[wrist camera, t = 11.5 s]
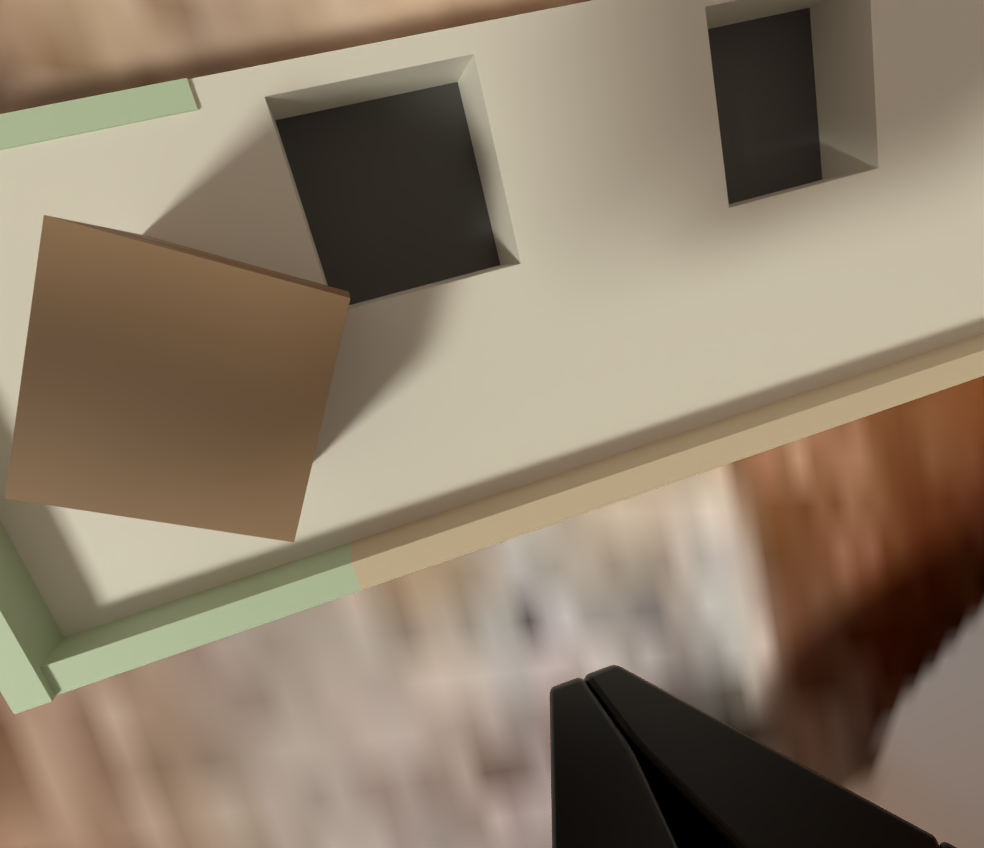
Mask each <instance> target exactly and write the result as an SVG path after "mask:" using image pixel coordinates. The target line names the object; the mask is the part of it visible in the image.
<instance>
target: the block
mask: <svg viewBox="0 0 984 848" xmlns="http://www.w3.org/2000/svg"><path fill="white" fill-rule="evenodd" d="M349 302H350V294H349V291H345V290H342V289H338V288H334V287H331V286H327V285H324V284H320V283H316V282H313V281H309V280H305V279H302V278H298V277H294V276H291V275H287V274H283V273H280V272H276V271H273V270H269V269H265V268H262V267H258V266H254V265H251V264H247V263H243V262H240V261H236V260H232V259H229V258H225V257H222V256H218V255H214V254H211V253H207V252H203V251H200V250H196V249H192V248H189V247H185V246H181V245H178V244H174V243H171V242H167V241H163V240H160V239H156V238H152V237H149V236H145V235H141V234H136V233H131V232H126V231H121V230H116V229H111V228H106V227H101V226H96V225H91V224H87V223H82V222H77V221H72V220H67V219H62V218H57V217H52V216H47V215H44V217H43V224H42V232H41V239H40V246H39V253H38V261H37V268H36V275H35V282H34V290H33V297H32V304H31V311H30V319H29V326H28V333H27V340H26V348H25V355H24V362H23V369H22V377H21V384H20V391H19V398H18V406H17V413H16V420H15V427H14V435H13V442H12V449H11V456H10V464H9V471H8V478H7V485H6V493H5V499H11V500H18V501H24V502H31V503H37V504H44V505H51V506H57V507H64V508H70V509H77V510H84V511H90V512H97V513H103V514H110V515H117V516H123V517H130V518H136V519H143V520H150V521H156V522H163V523H169V524H176V525H183V526H189V527H196V528H202V529H209V530H216V531H222V532H229V533H235V534H242V535H249V536H255V537H262V538H268V539H275V540H282V541H288V542H294V541H295V537H296V532H297V528H298V524H299V519H300V515H301V511H302V506H303V502H304V498H305V493H306V489H307V485H308V480H309V476H310V472H311V467H312V463H313V459H314V454H315V450H316V446H317V441H318V437H319V433H320V428H321V424H322V419H323V415H324V411H325V406H326V402H327V398H328V393H329V389H330V385H331V380H332V376H333V372H334V367H335V363H336V359H337V354H338V350H339V346H340V341H341V337H342V333H343V328H344V324H345V320H346V315H347V311H348V307H349Z"/></svg>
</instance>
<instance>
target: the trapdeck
mask: <svg viewBox="0 0 984 848" xmlns="http://www.w3.org/2000/svg"><path fill="white" fill-rule="evenodd" d="M44 215H47V216H52V217H57V218H62V219H67V220H72V221H77V222H82V223H87V224H91V225H96V226H101V227H106V228H111V229H116V230H121V231H126V232H131V233H136V234H141V235H145V236H149V237H152V238H156V239H160V240H163V241H167V242H171V243H174V244H178V245H181V246H185V247H189V248H192V249H196V250H200V251H203V252H207V253H211V254H214V255H218V256H222V257H225V258H229V259H232V260H236V261H240V262H243V263H247V264H251V265H254V266H258V267H262V268H265V269H269V270H273V271H276V272H280V273H283V274H287V275H291V276H294V277H298V278H302V279H305V280H309V281H313V282H316V283H320V284H324V285H327V286H331V287H334V288H338V289H342V290H345V291H349V294H350V302H349V307H348V311H347V315H346V320H345V324H344V328H343V333H342V337H341V341H340V346H339V350H338V354H337V359H336V363H335V367H334V372H333V376H332V380H331V385H330V389H329V393H328V398H327V402H326V406H325V411H324V415H323V419H322V424H321V428H320V433H319V437H318V441H317V446H316V450H315V454H314V459H313V463H312V467H311V472H310V476H309V480H308V485H307V489H306V493H305V498H304V502H303V506H302V511H301V515H300V519H299V524H298V528H297V532H296V537H295V541H294V542H288V541H282V540H275V539H268V538H262V537H255V536H249V535H242V534H235V533H229V532H222V531H216V530H209V529H202V528H196V527H189V526H183V525H176V524H169V523H163V522H156V521H150V520H143V519H136V518H130V517H123V516H117V515H110V514H103V513H97V512H90V511H84V510H77V509H70V508H64V507H57V506H51V505H44V504H37V503H31V502H24V501H18V500H11V499H5V493H6V485H7V478H8V471H9V464H10V456H11V449H12V442H13V435H14V427H15V420H16V413H17V406H18V398H19V391H20V384H21V377H22V369H23V362H24V355H25V348H26V340H27V333H28V326H29V319H30V311H31V304H32V297H33V290H34V282H35V275H36V268H37V261H38V253H39V246H40V239H41V232H42V224H43V217H44ZM981 376H984V0H591V1H586V2H581V3H576V4H571V5H566V6H560V7H555V8H550V9H545V10H540V11H535V12H530V13H525V14H519V15H514V16H509V17H504V18H499V19H494V20H489V21H484V22H478V23H473V24H468V25H463V26H458V27H453V28H448V29H443V30H437V31H432V32H427V33H422V34H417V35H412V36H407V37H402V38H397V39H391V40H386V41H381V42H376V43H371V44H366V45H361V46H356V47H350V48H345V49H340V50H335V51H330V52H325V53H320V54H315V55H309V56H304V57H299V58H294V59H289V60H284V61H279V62H274V63H268V64H263V65H258V66H253V67H248V68H243V69H238V70H233V71H228V72H222V73H217V74H212V75H207V76H202V77H197V78H192V79H187V78H183V79H178V80H173V81H167V82H162V83H157V84H152V85H147V86H142V87H137V88H132V89H126V90H121V91H116V92H111V93H106V94H101V95H96V96H90V97H85V98H80V99H75V100H70V101H65V102H60V103H55V104H49V105H44V106H39V107H34V108H29V109H24V110H19V111H13V112H8V113H3V114H0V691H1V693H2V695H3V696H4V698H5V700H6V702H7V703H8V705H9V707H10V708H11V710H12V712H13V713H14V714H17V713H20V712H23V711H25V710H28V709H31V708H34V707H37V706H40V705H43V704H46V703H49V702H51V701H52V700H53V699H54V698H55V696H56V695H59V694H62V693H65V692H68V691H70V690H73V689H76V688H79V687H82V686H85V685H88V684H91V683H94V682H97V681H99V680H102V679H105V678H108V677H111V676H114V675H117V674H120V673H123V672H126V671H128V670H131V669H134V668H137V667H140V666H143V665H146V664H149V663H152V662H155V661H157V660H160V659H163V658H166V657H169V656H172V655H175V654H178V653H181V652H184V651H186V650H189V649H192V648H195V647H198V646H201V645H204V644H207V643H210V642H213V641H215V640H218V639H221V638H224V637H227V636H230V635H233V634H236V633H239V632H242V631H244V630H247V629H250V628H253V627H256V626H259V625H262V624H265V623H268V622H271V621H273V620H276V619H279V618H282V617H285V616H288V615H291V614H294V613H297V612H300V611H302V610H305V609H308V608H311V607H314V606H317V605H320V604H323V603H326V602H329V601H331V600H334V599H337V598H340V597H343V596H346V595H349V594H352V593H355V592H358V591H360V590H363V589H366V588H369V587H372V586H375V585H378V584H381V583H384V582H387V581H389V580H392V579H395V578H398V577H401V576H404V575H407V574H410V573H413V572H416V571H418V570H421V569H424V568H427V567H430V566H433V565H436V564H439V563H442V562H445V561H447V560H450V559H453V558H456V557H459V556H462V555H465V554H468V553H471V552H474V551H476V550H479V549H482V548H485V547H488V546H491V545H494V544H497V543H500V542H503V541H505V540H508V539H511V538H514V537H517V536H520V535H523V534H526V533H529V532H532V531H534V530H537V529H540V528H543V527H546V526H549V525H552V524H555V523H558V522H561V521H563V520H566V519H569V518H572V517H575V516H578V515H581V514H584V513H587V512H590V511H592V510H595V509H598V508H601V507H604V506H607V505H610V504H613V503H616V502H619V501H621V500H624V499H627V498H630V497H633V496H636V495H639V494H642V493H645V492H648V491H651V490H653V489H656V488H659V487H662V486H665V485H668V484H671V483H674V482H677V481H680V480H682V479H685V478H688V477H691V476H694V475H697V474H700V473H703V472H706V471H709V470H711V469H714V468H717V467H720V466H723V465H726V464H729V463H732V462H735V461H738V460H740V459H743V458H746V457H749V456H752V455H755V454H758V453H761V452H764V451H767V450H769V449H772V448H775V447H778V446H781V445H784V444H787V443H790V442H793V441H796V440H798V439H801V438H804V437H807V436H810V435H813V434H816V433H819V432H822V431H825V430H827V429H830V428H833V427H836V426H839V425H842V424H845V423H848V422H851V421H854V420H856V419H859V418H862V417H865V416H868V415H871V414H874V413H877V412H880V411H883V410H885V409H888V408H891V407H894V406H897V405H900V404H903V403H906V402H909V401H912V400H914V399H917V398H920V397H923V396H926V395H929V394H932V393H935V392H938V391H941V390H943V389H946V388H949V387H952V386H955V385H958V384H961V383H964V382H967V381H970V380H972V379H975V378H978V377H981Z"/></svg>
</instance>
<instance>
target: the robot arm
mask: <svg viewBox="0 0 984 848" xmlns="http://www.w3.org/2000/svg"><path fill="white" fill-rule="evenodd" d="M550 736H551V797H552V848H956V847H954V846H952V845H950V844H949V843H946V842H943V843H941V844H940V845H939V844H938V842H937V840H936V838H935V837H934V836H933V835H931V834H929V833H927V832H926V831H924V830H922V829H920V828H918V827H916V826H914V825H913V824H911V823H909V822H907V821H905V820H903V819H901V818H900V817H898V816H896V815H894V814H892V813H890V812H888V811H887V810H884V809H883V808H881V807H879V806H877V805H876V804H874V803H872V802H870V801H868V800H866V799H865V798H863V797H861V796H859V795H857V794H855V793H853V792H852V791H850V790H848V789H846V788H844V787H842V786H840V785H839V784H837V783H835V782H833V781H831V780H829V779H827V778H826V777H824V776H822V775H820V774H818V773H816V772H814V771H813V770H811V769H809V768H807V767H805V766H803V765H802V764H800V763H798V762H796V761H794V760H792V759H790V758H789V757H787V756H785V755H783V754H781V753H779V752H777V751H776V750H774V749H772V748H770V747H768V746H766V745H764V744H763V743H761V742H759V741H757V740H755V739H753V738H751V737H750V736H748V735H746V734H744V733H742V732H740V731H739V730H737V729H735V728H733V727H731V726H729V725H727V724H726V723H724V722H722V721H720V720H718V719H716V718H714V717H713V716H711V715H709V714H707V713H705V712H703V711H701V710H700V709H698V708H696V707H694V706H692V705H690V704H688V703H687V702H685V701H683V700H681V699H679V698H677V697H676V696H674V695H672V694H670V693H668V692H666V691H664V690H663V689H661V688H659V687H657V686H655V685H653V684H651V683H650V682H648V681H646V680H644V679H642V678H640V677H638V676H637V675H635V674H633V673H631V672H629V671H627V670H625V669H624V668H622V667H620V666H616V665H612V666H608V667H606V668H603V669H600V670H598V671H595V672H592V673H589V674H588V675H587V676H586V677H585V679H584V680H583V679H581V678H576V679H573V680H570V681H568V682H565V683H562V684H560V685H557V686H554V687H553V688H552V689H551V691H550Z"/></svg>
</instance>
